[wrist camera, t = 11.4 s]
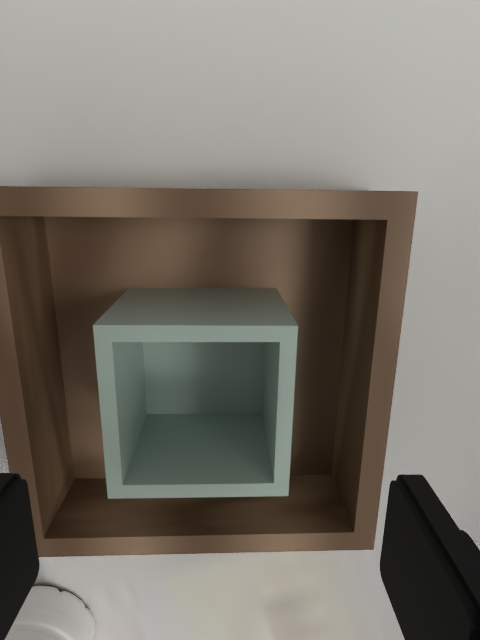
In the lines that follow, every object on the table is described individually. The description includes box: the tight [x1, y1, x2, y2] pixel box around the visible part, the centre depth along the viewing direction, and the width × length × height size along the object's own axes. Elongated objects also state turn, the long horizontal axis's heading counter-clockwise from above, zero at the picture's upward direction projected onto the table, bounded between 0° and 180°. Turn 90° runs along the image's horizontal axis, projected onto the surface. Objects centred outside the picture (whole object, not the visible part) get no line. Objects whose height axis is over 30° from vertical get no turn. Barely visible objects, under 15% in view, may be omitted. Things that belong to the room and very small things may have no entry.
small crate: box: [93, 288, 298, 499], centre depth 19 cm, size 7×7×6 cm
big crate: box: [0, 186, 418, 557], centre depth 20 cm, size 16×16×5 cm
